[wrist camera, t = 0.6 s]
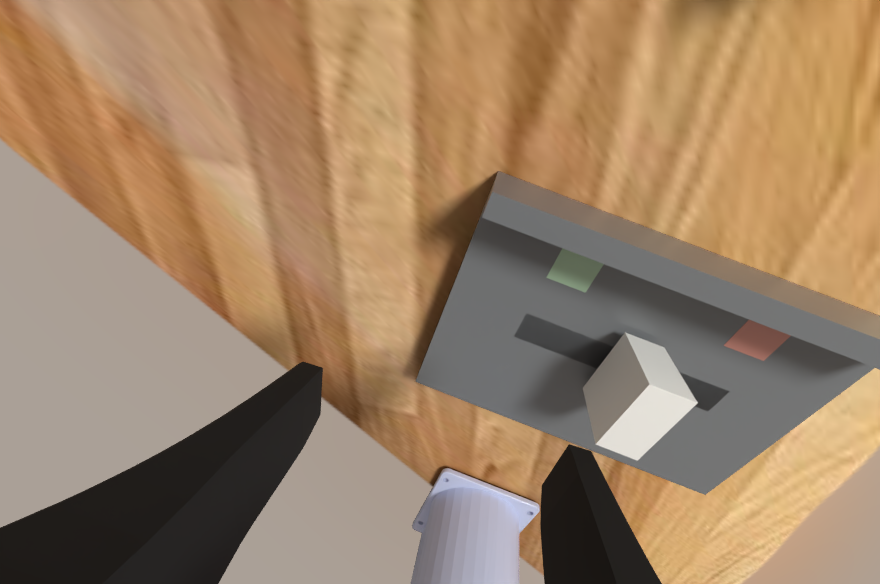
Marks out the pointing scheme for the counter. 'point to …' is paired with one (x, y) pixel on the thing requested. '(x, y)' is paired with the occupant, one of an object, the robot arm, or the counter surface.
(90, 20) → the counter surface
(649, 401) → the knob
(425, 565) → the robot arm
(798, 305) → the switch panel
